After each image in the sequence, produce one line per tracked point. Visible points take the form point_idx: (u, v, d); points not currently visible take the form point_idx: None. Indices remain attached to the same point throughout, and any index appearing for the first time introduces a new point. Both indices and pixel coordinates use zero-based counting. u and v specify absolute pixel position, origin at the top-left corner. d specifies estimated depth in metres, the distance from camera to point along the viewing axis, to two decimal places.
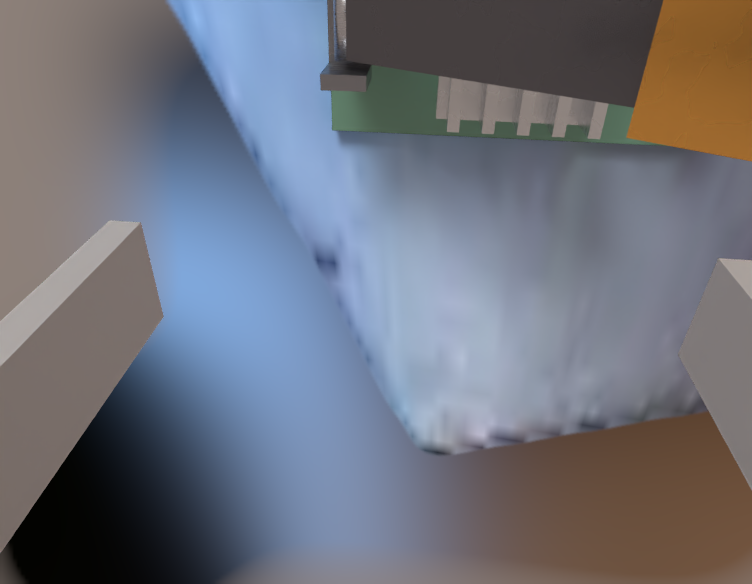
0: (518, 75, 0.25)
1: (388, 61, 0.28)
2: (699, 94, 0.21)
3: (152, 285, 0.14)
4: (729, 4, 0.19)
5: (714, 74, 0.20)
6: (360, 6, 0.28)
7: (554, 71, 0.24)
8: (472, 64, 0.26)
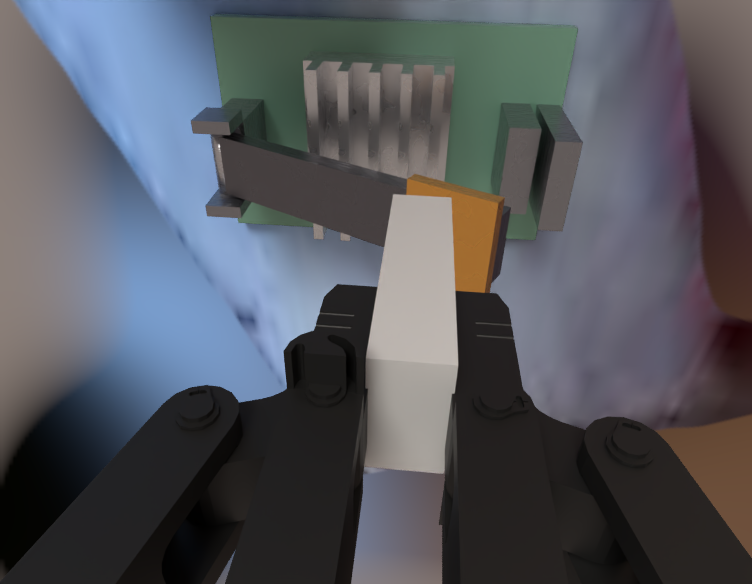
0: (336, 222, 0.34)
1: (254, 199, 0.37)
2: None
3: None
4: None
5: None
6: (231, 159, 0.37)
7: (357, 224, 0.33)
8: (307, 210, 0.35)
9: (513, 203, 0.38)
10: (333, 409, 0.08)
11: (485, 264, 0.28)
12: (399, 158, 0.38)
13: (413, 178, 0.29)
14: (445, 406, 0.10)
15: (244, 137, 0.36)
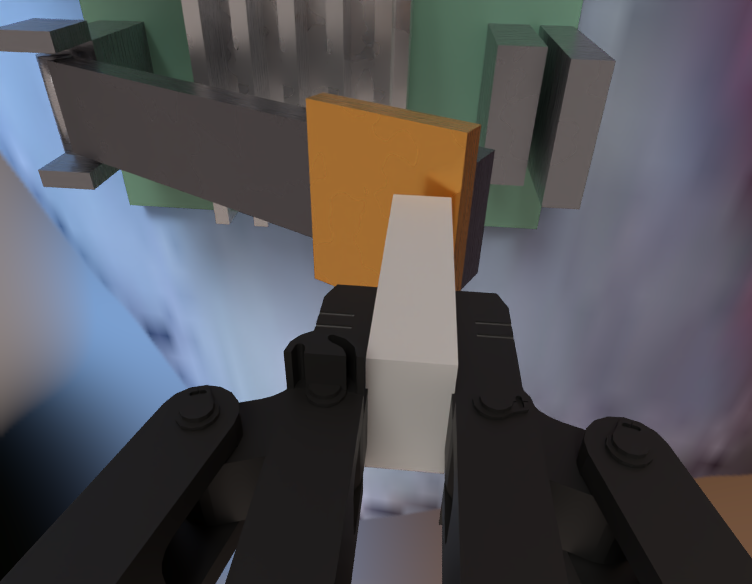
0: (217, 191, 0.21)
1: (107, 158, 0.24)
2: (366, 243, 0.17)
3: None
4: (367, 147, 0.15)
5: (373, 223, 0.16)
6: (68, 97, 0.24)
7: (246, 191, 0.20)
8: (176, 173, 0.22)
9: (504, 168, 0.26)
10: (333, 409, 0.08)
11: None
12: None
13: (317, 97, 0.16)
14: (445, 406, 0.10)
15: (86, 61, 0.23)
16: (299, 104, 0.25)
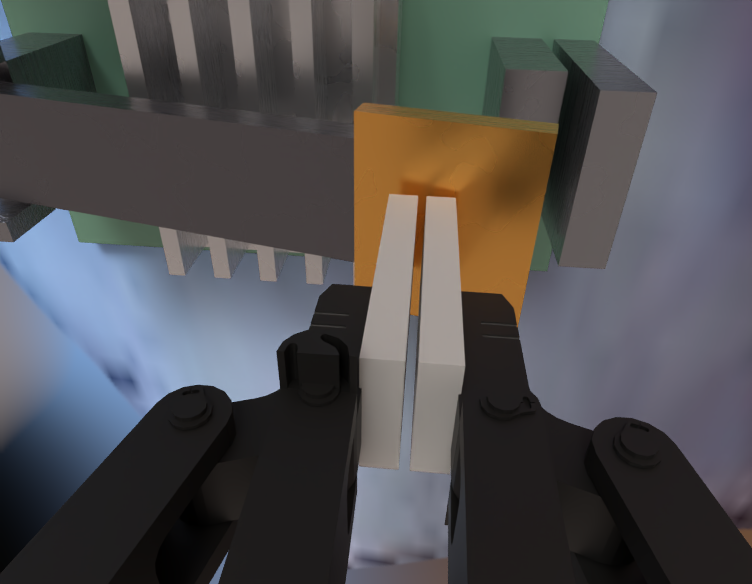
0: (213, 222, 0.19)
1: (48, 199, 0.20)
2: None
3: None
4: (432, 157, 0.14)
5: None
6: None
7: (254, 219, 0.18)
8: (153, 207, 0.19)
9: None
10: (326, 408, 0.08)
11: (524, 260, 0.15)
12: None
13: (365, 109, 0.14)
14: (452, 407, 0.10)
15: (6, 85, 0.19)
16: None
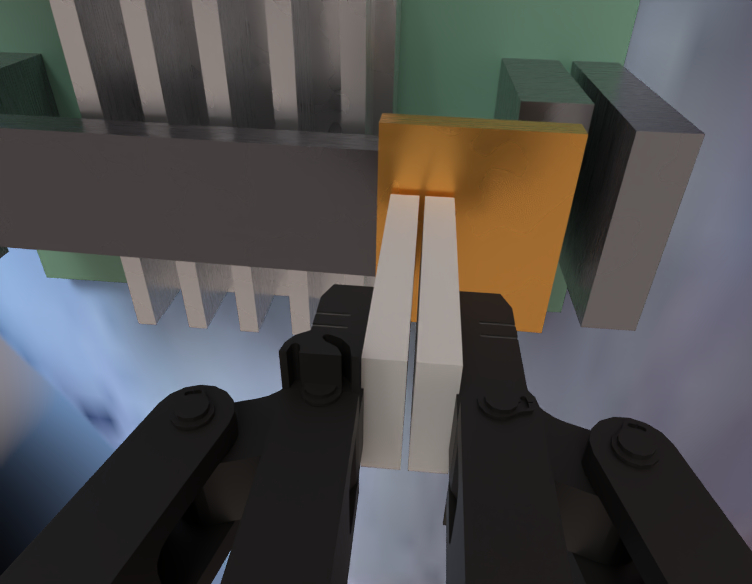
0: (211, 248, 0.17)
1: (8, 239, 0.18)
2: None
3: (415, 253, 0.15)
4: (461, 165, 0.14)
5: (462, 244, 0.15)
6: None
7: (259, 241, 0.17)
8: (140, 237, 0.17)
9: None
10: (329, 409, 0.08)
11: (552, 258, 0.15)
12: None
13: (388, 120, 0.14)
14: (449, 406, 0.10)
15: None
16: None
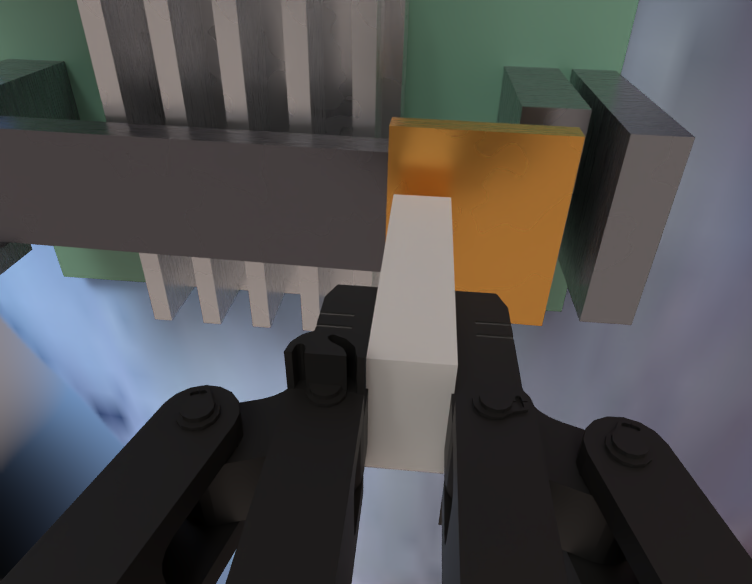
0: (228, 245, 0.18)
1: (34, 236, 0.19)
2: (454, 262, 0.17)
3: None
4: (466, 165, 0.15)
5: (466, 240, 0.16)
6: None
7: (273, 238, 0.18)
8: (160, 235, 0.18)
9: None
10: (334, 409, 0.08)
11: (551, 254, 0.16)
12: None
13: (399, 123, 0.15)
14: (445, 406, 0.10)
15: None
16: None
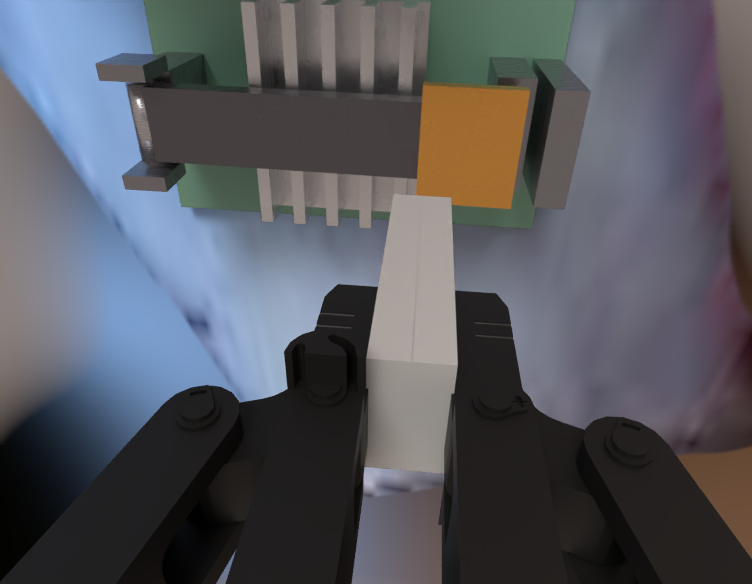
0: (321, 162, 0.30)
1: (199, 159, 0.31)
2: (458, 168, 0.28)
3: None
4: (465, 108, 0.27)
5: (465, 154, 0.28)
6: (162, 114, 0.30)
7: (349, 157, 0.30)
8: (280, 156, 0.30)
9: None
10: (334, 409, 0.08)
11: (514, 162, 0.28)
12: None
13: (428, 84, 0.27)
14: (445, 406, 0.10)
15: (175, 84, 0.30)
16: None
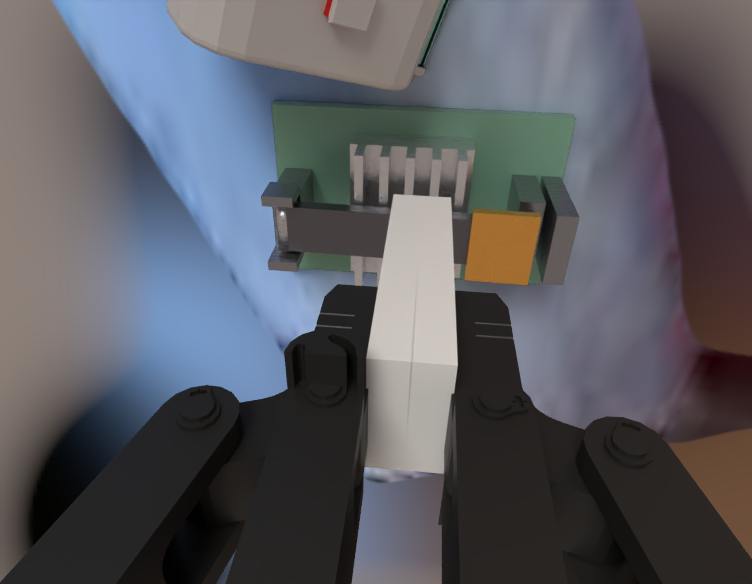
0: None
1: (319, 250, 0.46)
2: (494, 260, 0.44)
3: None
4: (499, 226, 0.42)
5: (499, 252, 0.43)
6: (297, 223, 0.45)
7: None
8: (374, 249, 0.46)
9: None
10: (334, 409, 0.08)
11: (530, 257, 0.43)
12: None
13: (476, 211, 0.42)
14: (444, 406, 0.10)
15: (305, 203, 0.45)
16: None
